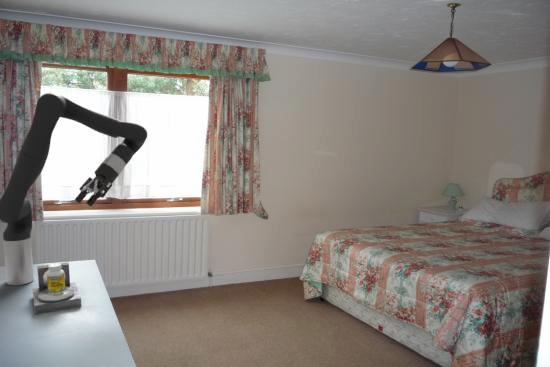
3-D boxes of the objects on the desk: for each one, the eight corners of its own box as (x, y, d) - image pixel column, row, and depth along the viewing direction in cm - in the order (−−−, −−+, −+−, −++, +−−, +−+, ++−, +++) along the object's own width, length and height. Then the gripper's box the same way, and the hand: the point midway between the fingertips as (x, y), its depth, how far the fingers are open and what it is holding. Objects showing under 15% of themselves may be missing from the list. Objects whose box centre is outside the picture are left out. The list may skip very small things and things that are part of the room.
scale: (33, 296, 168) (30, 267, 166) (75, 290, 174) (73, 261, 173) (35, 314, 153) (32, 282, 151) (81, 306, 160) (79, 275, 158)
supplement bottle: (64, 288, 165) (62, 261, 163) (66, 293, 160) (65, 265, 159) (47, 291, 162) (45, 264, 160) (49, 296, 157) (47, 268, 156)
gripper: (93, 160, 178) (65, 194, 172) (113, 163, 169) (84, 199, 162) (107, 173, 183) (80, 206, 176) (127, 176, 174) (100, 212, 167)
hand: (82, 203), depth 169 cm, fingers open, 8 cm apart
